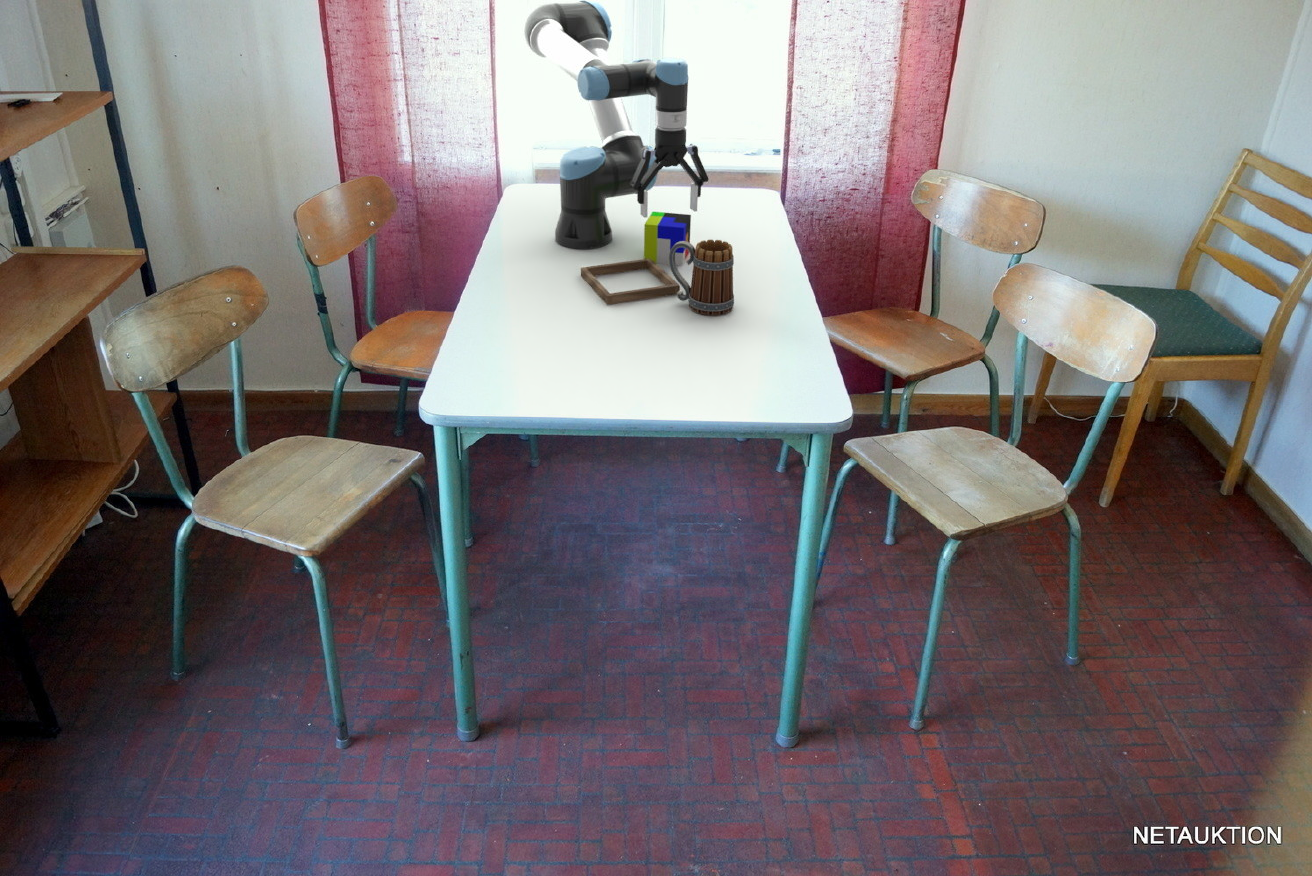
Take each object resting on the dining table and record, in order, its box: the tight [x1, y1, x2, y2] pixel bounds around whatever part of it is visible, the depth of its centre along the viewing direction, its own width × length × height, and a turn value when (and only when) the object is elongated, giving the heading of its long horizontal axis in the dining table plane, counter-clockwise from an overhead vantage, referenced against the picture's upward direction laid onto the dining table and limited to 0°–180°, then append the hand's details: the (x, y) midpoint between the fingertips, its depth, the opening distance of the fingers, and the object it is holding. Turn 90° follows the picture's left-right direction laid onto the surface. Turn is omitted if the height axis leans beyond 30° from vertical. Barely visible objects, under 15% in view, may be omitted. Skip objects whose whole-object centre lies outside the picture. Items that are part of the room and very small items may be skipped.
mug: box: [668, 239, 735, 317], centre depth 233 cm, size 16×11×15 cm
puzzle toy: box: [643, 211, 692, 267], centre depth 261 cm, size 10×10×10 cm
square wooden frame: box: [580, 258, 681, 306], centre depth 246 cm, size 18×18×2 cm
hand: (668, 213), depth 257 cm, fingers open, 13 cm apart
